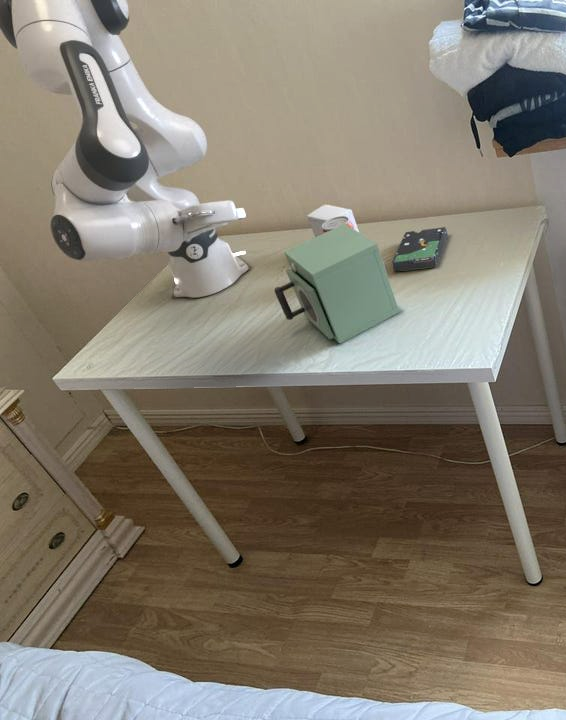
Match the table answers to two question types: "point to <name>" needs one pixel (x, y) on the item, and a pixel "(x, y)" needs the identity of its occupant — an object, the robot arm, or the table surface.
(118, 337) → the table surface
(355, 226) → the cosmetics box
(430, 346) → the table surface
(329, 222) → the soda can
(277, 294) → the door
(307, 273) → the washer
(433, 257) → the disk drive
